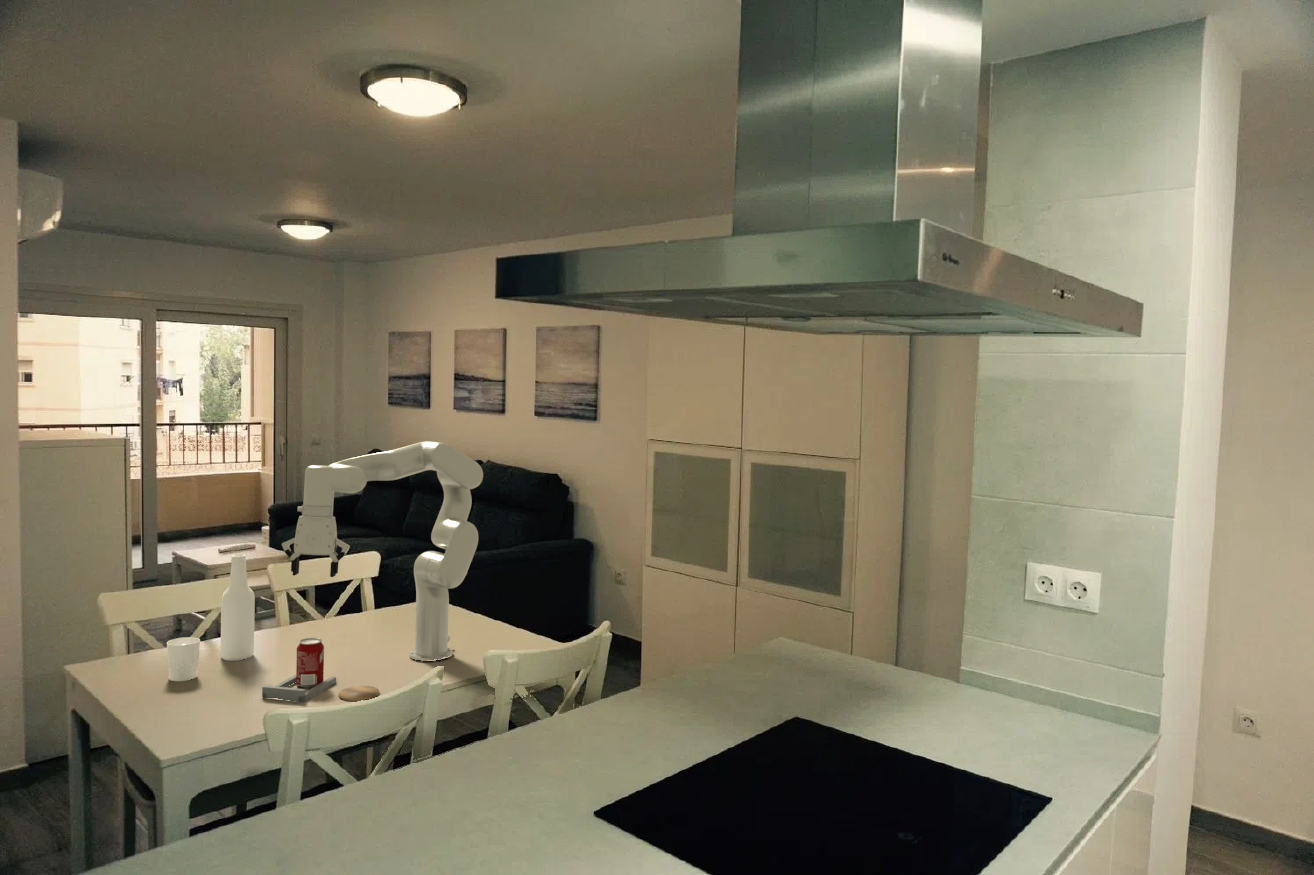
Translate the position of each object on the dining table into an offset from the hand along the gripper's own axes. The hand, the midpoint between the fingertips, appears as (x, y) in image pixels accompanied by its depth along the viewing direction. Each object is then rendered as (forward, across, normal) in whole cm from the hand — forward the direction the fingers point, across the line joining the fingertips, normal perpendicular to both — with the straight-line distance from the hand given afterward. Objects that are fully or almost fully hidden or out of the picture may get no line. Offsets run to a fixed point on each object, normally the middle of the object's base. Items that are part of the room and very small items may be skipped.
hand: (314, 575), depth 230 cm
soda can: (+30, +1, 0) cm, 30 cm away
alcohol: (+30, -27, +24) cm, 47 cm away
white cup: (+31, -34, +6) cm, 46 cm away
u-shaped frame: (+30, -1, -5) cm, 30 cm away
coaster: (+29, +15, -8) cm, 34 cm away
